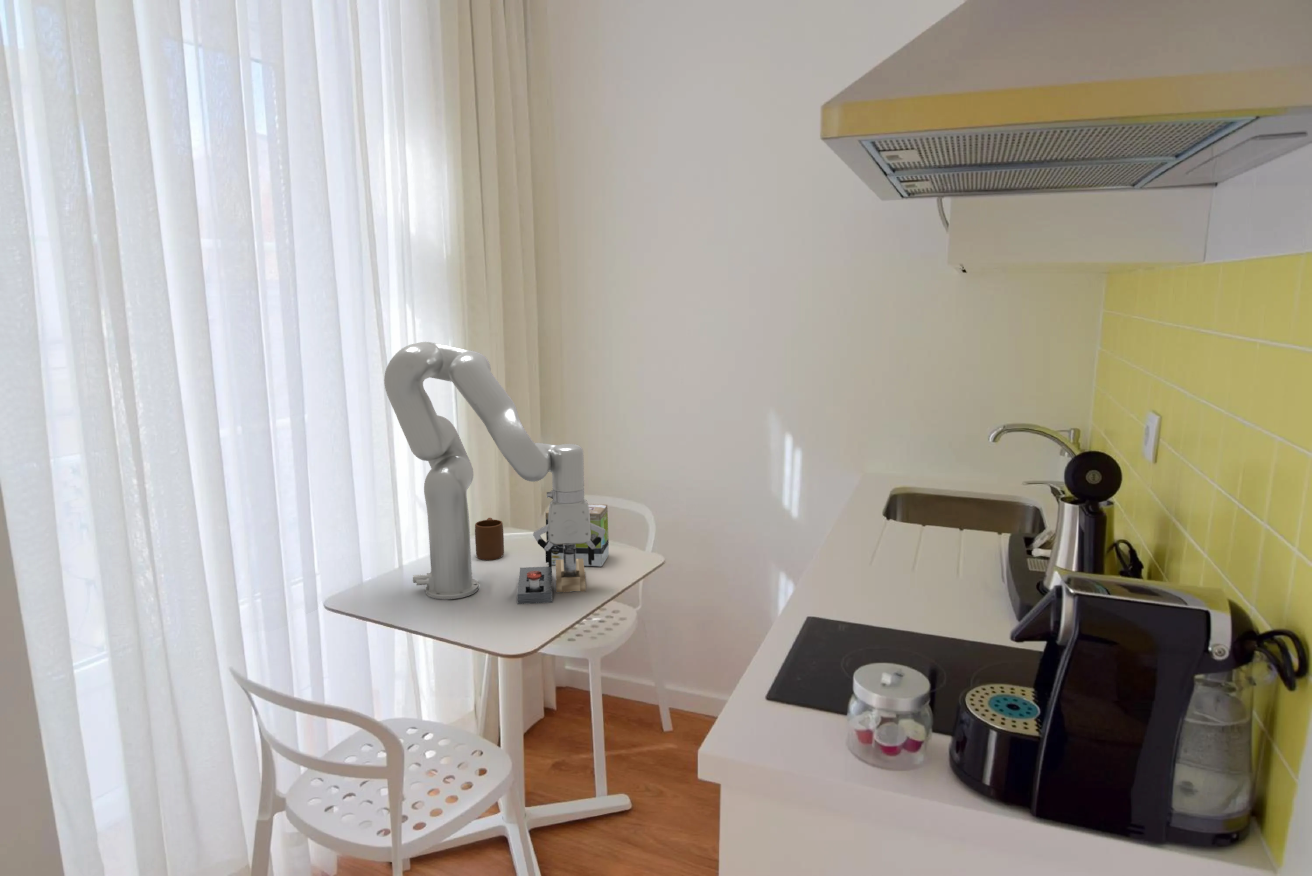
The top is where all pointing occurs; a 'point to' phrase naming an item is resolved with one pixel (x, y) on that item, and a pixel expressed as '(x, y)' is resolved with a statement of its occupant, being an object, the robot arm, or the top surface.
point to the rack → (570, 582)
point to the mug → (489, 539)
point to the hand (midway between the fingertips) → (570, 564)
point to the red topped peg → (534, 581)
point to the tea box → (602, 549)
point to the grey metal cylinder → (569, 560)
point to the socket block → (545, 586)
